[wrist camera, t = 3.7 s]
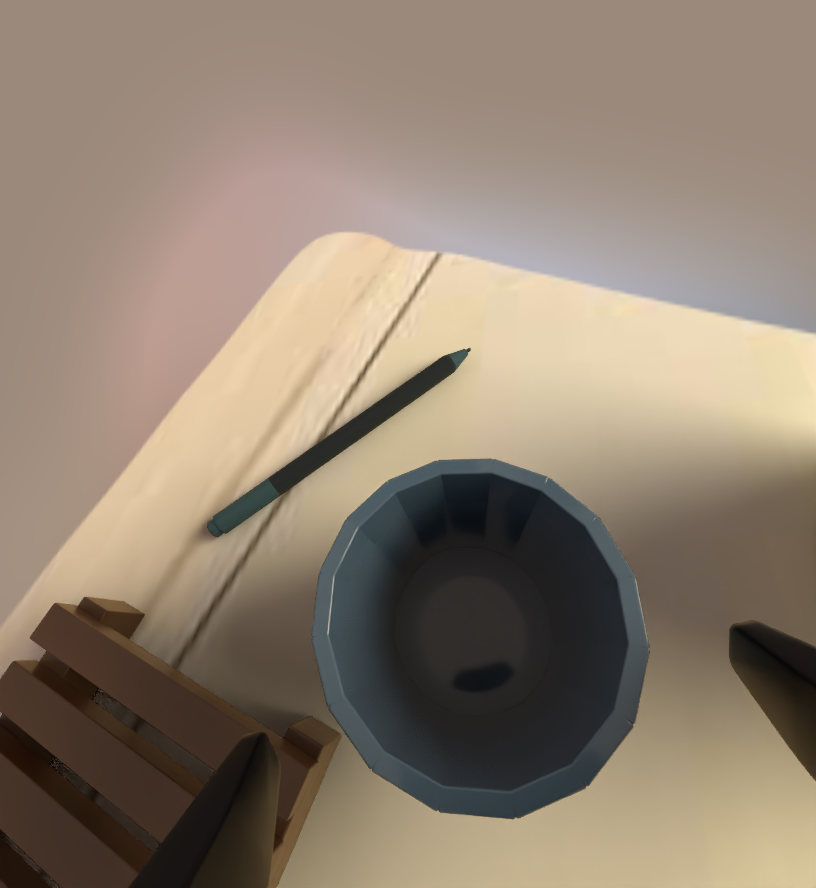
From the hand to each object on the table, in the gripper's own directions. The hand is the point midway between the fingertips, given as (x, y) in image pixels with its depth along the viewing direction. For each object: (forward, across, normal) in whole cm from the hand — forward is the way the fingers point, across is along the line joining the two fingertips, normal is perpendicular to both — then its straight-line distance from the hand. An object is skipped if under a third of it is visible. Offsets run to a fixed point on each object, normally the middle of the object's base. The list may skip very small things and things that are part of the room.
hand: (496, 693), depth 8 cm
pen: (+14, +4, -1) cm, 15 cm away
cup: (+8, 0, +5) cm, 9 cm away
